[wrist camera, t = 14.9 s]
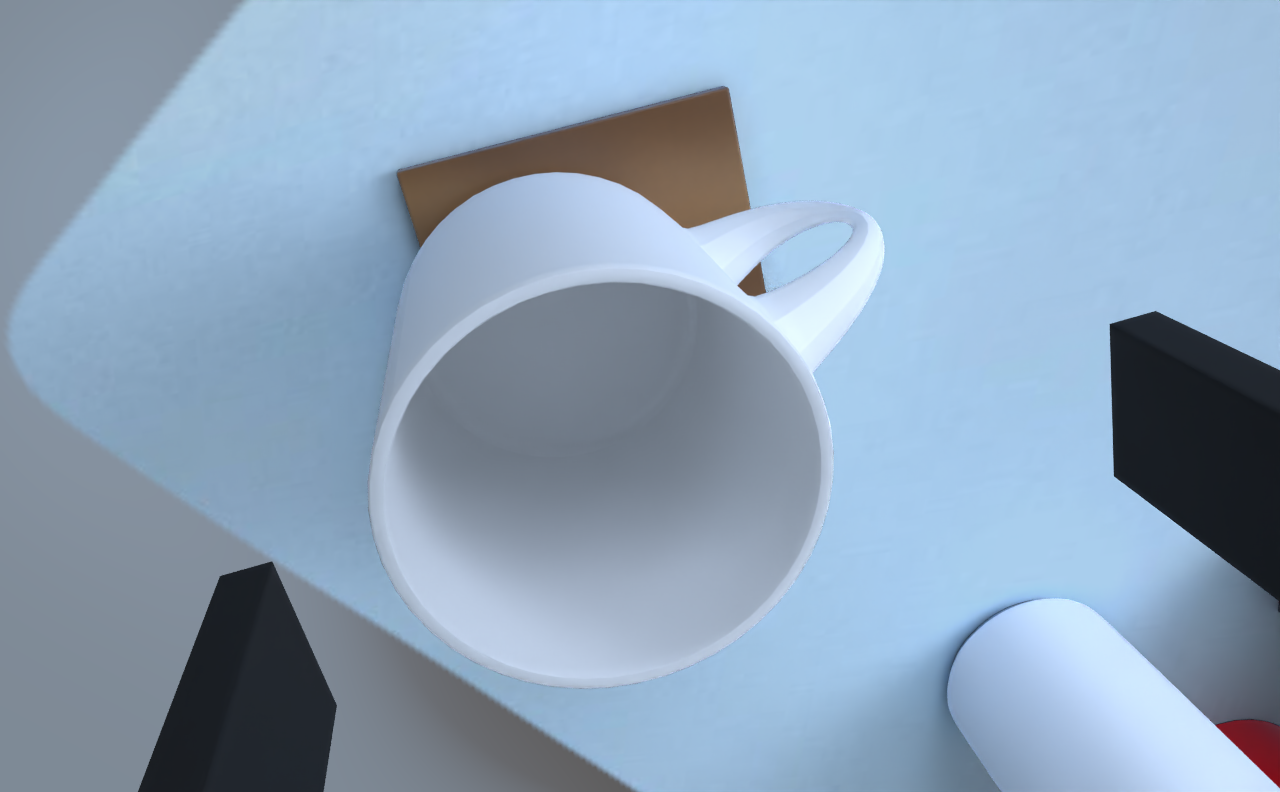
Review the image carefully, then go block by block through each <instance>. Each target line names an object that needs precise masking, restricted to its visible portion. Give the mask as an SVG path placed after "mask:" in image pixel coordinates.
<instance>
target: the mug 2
mask: <svg viewBox="0 0 1280 792" xmlns="http://www.w3.org/2000/svg"><path fill="white" fill-rule="evenodd" d="M1215 726H1216V727H1217V728H1218V729H1219V730H1220V731H1221V732H1222V733H1223V734H1224V735H1225V736H1226V737H1227V738H1228V739H1230V740H1231V741H1232V742H1233V743H1234V744H1235V745H1236V746H1237V747H1238V748H1239V749H1240V750H1241V751H1242V752H1243V753H1244V754H1245V755H1246V756H1247V757H1248V758H1249V759H1250V760H1251V761H1252V762H1253V763H1254V764H1255V765H1256V766H1257V767H1258V768H1259V769H1260V770H1261V771H1262V772H1263V773H1264V774H1265V775H1266V776H1267V777H1269V778H1270V779H1271V780H1272V781H1273V782H1274V783H1275V784H1276V785H1277V786H1278V787H1279V788H1280V726H1278V725H1275V724H1273V723H1270V722H1266V721H1259V720H1237V721H1231V722H1227V723H1222V724H1218V725H1215Z"/></svg>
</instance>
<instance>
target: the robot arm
mask: <svg viewBox="0 0 1280 792" xmlns="http://www.w3.org/2000/svg"><path fill="white" fill-rule="evenodd" d="M1110 351H1111V387H1112V422H1113V458H1114V477H1116V478H1117V479H1118V480H1120V481H1121V482H1122V483H1124V484H1125V485H1126V486H1128V487H1129V488H1130V489H1132V490H1133V491H1134V492H1136V493H1137V494H1138V495H1140V496H1141V497H1142V498H1144V499H1145V500H1146V501H1148V502H1149V503H1150V504H1151V505H1153V506H1154V507H1155V508H1157V509H1158V510H1159V511H1161V512H1162V513H1163V514H1165V515H1166V516H1167V517H1169V518H1170V519H1171V520H1173V521H1174V522H1175V523H1177V524H1178V525H1179V526H1181V527H1182V528H1183V529H1185V530H1186V531H1187V532H1189V533H1190V534H1191V535H1193V536H1194V537H1195V538H1197V539H1198V540H1199V541H1200V542H1202V543H1203V544H1204V545H1206V546H1207V547H1208V548H1210V549H1211V550H1212V551H1214V552H1215V553H1216V554H1218V555H1219V556H1220V557H1222V558H1223V559H1224V560H1226V561H1227V562H1228V563H1230V564H1231V565H1232V566H1234V567H1235V568H1236V569H1238V570H1239V571H1240V572H1242V573H1243V574H1244V575H1245V576H1247V577H1248V578H1249V579H1251V580H1252V581H1253V582H1255V583H1256V584H1257V585H1259V586H1260V587H1261V588H1263V589H1264V590H1265V591H1267V592H1268V593H1269V594H1271V595H1272V596H1273V597H1275V598H1276V599H1277V600H1279V601H1280V370H1278V369H1276V368H1274V367H1272V366H1270V365H1268V364H1265V363H1263V362H1261V361H1259V360H1257V359H1255V358H1253V357H1251V356H1249V355H1247V354H1244V353H1242V352H1240V351H1238V350H1236V349H1234V348H1232V347H1230V346H1228V345H1226V344H1223V343H1221V342H1219V341H1217V340H1215V339H1213V338H1211V337H1209V336H1207V335H1205V334H1203V333H1200V332H1198V331H1196V330H1194V329H1192V328H1190V327H1188V326H1186V325H1184V324H1182V323H1179V322H1177V321H1175V320H1173V319H1171V318H1169V317H1167V316H1165V315H1163V314H1161V313H1159V312H1156V311H1154V312H1151V313H1147V314H1144V315H1140V316H1137V317H1133V318H1130V319H1126V320H1122V321H1119V322H1115V323H1112V324H1110ZM336 707H337V705H336V702H335V700H334V698H333V696H332V694H331V691H330V689H329V687H328V685H327V683H326V680H325V678H324V676H323V674H322V671H321V669H320V667H319V665H318V663H317V660H316V658H315V656H314V653H313V651H312V649H311V647H310V645H309V642H308V640H307V638H306V636H305V633H304V631H303V629H302V627H301V625H300V623H299V620H298V618H297V616H296V613H295V611H294V609H293V607H292V604H291V602H290V600H289V598H288V596H287V593H286V591H285V589H284V587H283V584H282V582H281V580H280V578H279V576H278V573H277V571H276V569H275V567H274V564H273V562H268V563H265V564H261V565H258V566H254V567H251V568H247V569H244V570H240V571H237V572H233V573H230V574H226V575H222V576H220V578H219V580H218V583H217V586H216V588H215V591H214V594H213V596H212V599H211V601H210V604H209V607H208V609H207V612H206V615H205V617H204V620H203V622H202V625H201V628H200V630H199V633H198V636H197V638H196V641H195V643H194V646H193V649H192V651H191V654H190V657H189V659H188V662H187V665H186V667H185V670H184V672H183V675H182V678H181V680H180V683H179V685H178V688H177V691H176V694H175V696H174V699H173V701H172V704H171V706H170V709H169V712H168V714H167V717H166V720H165V722H164V725H163V727H162V730H161V733H160V736H159V738H158V741H157V743H156V746H155V748H154V751H153V754H152V757H151V759H150V762H149V765H148V767H147V769H146V772H145V775H144V777H143V780H142V783H141V785H140V788H139V791H138V792H323V791H324V785H325V778H326V772H327V765H328V759H329V752H330V746H331V739H332V732H333V726H334V720H335V713H336Z"/></svg>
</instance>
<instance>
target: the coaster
mask: <svg viewBox="0 0 1280 792" xmlns="http://www.w3.org/2000/svg"><path fill="white" fill-rule="evenodd" d="M552 172H563V173H579V174H584V175H590V176H595V177H600V178H603V179H606V180H609V181H612V182H615V183H618V184H620V185H622V186H624V187H626V188H629V189H631V190H633V191H635V192H637V193H639V194H640V195H642V196H643V197H644V198H646V199H647V200H649V201H650V202H651V203H653V204H654V205H656V206H657V207H658V208H660V209H661V210H662V211H663V212H665V213H666V214H667V215H668V216H669V217H671V218H672V219H673V220H674V221H675V222H677V223H678V224H679V225H680V226H681V227H682V228H687V229H689V228H692V227H696V226H700V225H702V224H705V223H708V222H711V221H714V220H717V219H720V218H723V217H726V216H729V215H732V214H736V213H739V212H742V211H746V210H750V209H751V208H750V203H749V197H748V192H747V186H746V181H745V175H744V170H743V164H742V159H741V153H740V148H739V142H738V137H737V131H736V126H735V120H734V115H733V109H732V104H731V98H730V93H729V89H728V88H727V87H725V86H721V87H717V88H713V89H710V90H706V91H702V92H698V93H694V94H690V95H686V96H682V97H679V98H675V99H671V100H667V101H663V102H659V103H655V104H651V105H648V106H644V107H640V108H636V109H632V110H628V111H624V112H620V113H617V114H613V115H609V116H605V117H601V118H597V119H593V120H589V121H586V122H582V123H578V124H574V125H570V126H566V127H562V128H558V129H555V130H551V131H547V132H543V133H539V134H535V135H531V136H527V137H524V138H520V139H516V140H512V141H508V142H504V143H500V144H496V145H493V146H489V147H485V148H481V149H477V150H473V151H469V152H465V153H462V154H458V155H454V156H450V157H446V158H442V159H438V160H434V161H431V162H427V163H423V164H419V165H415V166H411V167H407V168H403V169H399V170H398V171H397V177H398V180H399V183H400V186H401V189H402V192H403V196H404V199H405V202H406V205H407V208H408V211H409V214H410V217H411V220H412V223H413V227H414V230H415V233H416V236H417V239H418V242H419V245H420V248H421V247H422V245H423V244H424V242H425V240H426V239H427V238H428V237H429V235H430V234H431V233H432V232H433V231H434V229H435V228H436V227H437V226H438V224H439V223H440V222H441V221H442V220H444V219H445V218H446V217H447V216H448V215H449V214H450V213H451V212H452V211H453V210H454V209H455V208H457V207H458V206H460V205H461V204H463V203H464V202H465V201H467V200H468V199H470V198H471V197H472V196H474V195H476V194H478V193H480V192H482V191H484V190H486V189H488V188H490V187H492V186H494V185H497V184H499V183H502V182H505V181H508V180H511V179H514V178H518V177H523V176H527V175H532V174H540V173H552ZM737 286H738V287H739V288H740V289H741V290H742V291H743V292H744V293H745V294H746V295H748V296H758V295H761V294H764V293H766V290H765V285H764V279H763V274H762V268H761V263H759V264H758V265H756V266H755V267H754V268H753V269H752V271H751V272H750V273H749V274H748V275H747V276H746V277H745V278H744V279H743V280H742V281H741V282H740V283H739V284H738V285H737Z"/></svg>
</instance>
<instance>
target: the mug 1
mask: <svg viewBox="0 0 1280 792" xmlns="http://www.w3.org/2000/svg"><path fill="white" fill-rule="evenodd" d="M832 222H842V223H846V224H848V225H850V226H851V227H852V228H853V233H852V235H851V237H850V238H849V240H848V241H847V242H846V244H845V245H844V246H843V247H842V248H840V249H839V250H838V251H837V252H836V253H835V254H834V255H833V256H831V257H830V258H829V259H827V260H826V261H824V262H823V263H822V264H820V265H819V266H817V267H816V268H814V269H812V270H811V271H809V272H807V273H806V274H804V275H802V276H800V277H798V278H797V279H795V280H793V281H791V282H789V283H787V284H785V285H783V286H781V287H778V288H776V289H774V290H772V291H770V292H767V293H764V294H761V295H758V296H748V295H746V294H745V293H744V292H743V291H742V290H741V289H740V288H739V287H738V286H737V285H738V284H739V283H740V282H741V281H742V280H743V279H744V278H745V277H746V276H747V275H748V274H749V273H750V272H751V271H752V269H753V268H754V267H755V266H756V265H758V264H759V263H760V262H761V261H762V260H763V259H764V258H765V257H766V256H767V255H769V254H770V253H771V252H772V251H774V250H775V249H776V248H777V247H779V246H780V245H782V244H783V243H785V242H786V241H788V240H789V239H791V238H793V237H794V236H796V235H798V234H800V233H802V232H804V231H806V230H809V229H811V228H813V227H816V226H819V225H822V224H826V223H832ZM884 253H885V247H884V240H883V235H882V230H881V229H880V227H879V226H878V224H877V222H876V221H875V220H874V219H873V218H872V217H871V216H870V215H868V214H867V213H866V212H864V211H861V210H859V209H857V208H854V207H852V206H848V205H844V204H841V203H834V202H827V201H793V202H784V203H777V204H772V205H767V206H762V207H758V208H754V209H750V210H746V211H742V212H739V213H736V214H732V215H729V216H726V217H723V218H720V219H717V220H714V221H711V222H708V223H705V224H702V225H700V226H696V227H692V228H689V229H687V228H682V227H681V226H680V225H679V224H678V223H677V222H675V221H674V220H673V219H672V218H671V217H669V216H668V215H667V214H666V213H665V212H663V211H662V210H661V209H660V208H658V207H657V206H656V205H654V204H653V203H651V202H650V201H649V200H647V199H646V198H644V197H643V196H642V195H640V194H639V193H637V192H635V191H633V190H631V189H629V188H626V187H624V186H622V185H620V184H618V183H615V182H612V181H609V180H606V179H603V178H600V177H595V176H590V175H584V174H579V173H563V172H552V173H540V174H532V175H527V176H523V177H518V178H514V179H511V180H508V181H505V182H502V183H499V184H497V185H494V186H492V187H490V188H488V189H486V190H484V191H482V192H480V193H478V194H476V195H474V196H472V197H471V198H470V199H468V200H467V201H465V202H464V203H463V204H461V205H460V206H458V207H457V208H455V209H454V210H453V211H452V212H451V213H450V214H449V215H448V216H447V217H446V218H445V219H444V220H442V221H441V222H440V223H439V224H438V226H437V227H436V228H435V229H434V231H433V232H432V233H431V234H430V235H429V237H428V238H427V239H426V240H425V242H424V244H423V245H422V247H421V249H420V250H419V252H418V253H417V255H416V257H415V258H414V261H413V263H412V265H411V268H410V270H409V272H408V275H407V277H406V279H405V281H404V285H403V289H402V292H401V296H400V299H399V303H398V307H397V313H396V318H395V324H394V329H393V335H392V341H391V346H390V352H389V357H388V363H387V368H386V374H385V379H384V385H383V390H382V396H381V402H380V407H379V413H378V418H377V424H376V429H375V435H374V440H373V446H372V452H371V459H370V467H369V474H368V511H369V517H370V523H371V528H372V534H373V538H374V541H375V544H376V547H377V550H378V553H379V556H380V559H381V562H382V565H383V567H384V569H385V571H386V573H387V574H388V576H389V578H390V580H391V582H392V584H393V586H394V588H395V590H396V591H397V592H398V594H399V595H400V597H401V598H402V599H403V601H404V602H405V604H406V605H407V606H408V608H409V609H410V611H411V612H412V613H413V614H414V615H415V616H416V617H417V618H418V619H419V620H420V621H421V622H422V623H423V624H424V625H425V626H426V627H427V629H428V630H429V631H430V632H431V633H433V634H434V635H435V636H436V637H438V638H439V639H440V640H442V641H443V642H444V643H445V644H447V645H448V646H449V647H450V648H452V649H453V650H455V651H456V652H458V653H460V654H461V655H463V656H465V657H466V658H468V659H470V660H471V661H473V662H475V663H477V664H479V665H481V666H483V667H486V668H488V669H490V670H492V671H495V672H497V673H499V674H502V675H505V676H509V677H512V678H515V679H518V680H522V681H525V682H529V683H535V684H541V685H546V686H552V687H563V688H578V689H588V688H610V687H617V686H623V685H630V684H636V683H641V682H644V681H648V680H652V679H656V678H659V677H663V676H666V675H669V674H672V673H674V672H677V671H679V670H682V669H685V668H687V667H690V666H692V665H694V664H696V663H698V662H700V661H702V660H704V659H706V658H708V657H710V656H712V655H714V654H716V653H717V652H719V651H720V650H722V649H723V648H725V647H727V646H728V645H730V644H731V643H733V642H734V641H736V640H737V639H739V638H740V637H741V636H743V635H744V634H745V633H746V632H747V631H749V630H750V629H751V628H752V627H754V626H755V625H756V624H757V623H758V622H760V621H761V620H762V619H763V618H764V617H765V616H766V615H767V614H768V613H769V612H770V611H771V610H772V609H773V607H774V606H775V605H776V604H777V603H778V602H779V601H780V600H781V599H782V597H783V596H784V595H785V594H786V592H787V591H788V590H789V589H790V587H791V586H792V585H793V583H794V582H795V581H796V579H797V578H798V576H799V574H800V573H801V571H802V569H803V568H804V566H805V564H806V563H807V561H808V559H809V558H810V556H811V554H812V551H813V549H814V547H815V545H816V542H817V540H818V538H819V536H820V533H821V530H822V527H823V524H824V520H825V517H826V514H827V511H828V507H829V501H830V495H831V489H832V483H833V461H834V450H833V442H832V433H831V425H830V421H829V418H828V414H827V410H826V407H825V403H824V399H823V397H822V395H821V392H820V390H819V388H818V385H817V383H816V381H815V378H814V376H813V373H814V372H815V370H816V369H817V368H818V367H819V365H820V364H821V363H822V362H823V361H824V360H825V358H826V357H827V356H828V355H829V354H830V352H831V351H832V350H833V349H834V347H835V346H836V345H837V344H838V342H839V341H840V340H841V339H842V337H843V336H844V335H845V334H846V332H847V331H848V330H849V328H850V327H851V325H852V324H853V323H854V321H855V320H856V318H857V317H858V315H859V314H860V313H861V311H862V309H863V308H864V306H865V304H866V302H867V301H868V299H869V297H870V295H871V293H872V292H873V290H874V288H875V286H876V283H877V281H878V278H879V275H880V273H881V270H882V267H883V260H884Z"/></svg>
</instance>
